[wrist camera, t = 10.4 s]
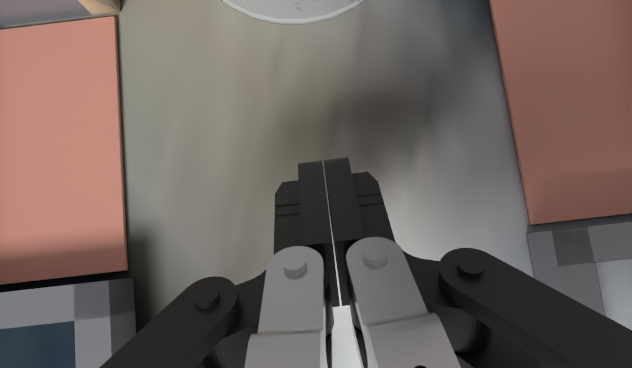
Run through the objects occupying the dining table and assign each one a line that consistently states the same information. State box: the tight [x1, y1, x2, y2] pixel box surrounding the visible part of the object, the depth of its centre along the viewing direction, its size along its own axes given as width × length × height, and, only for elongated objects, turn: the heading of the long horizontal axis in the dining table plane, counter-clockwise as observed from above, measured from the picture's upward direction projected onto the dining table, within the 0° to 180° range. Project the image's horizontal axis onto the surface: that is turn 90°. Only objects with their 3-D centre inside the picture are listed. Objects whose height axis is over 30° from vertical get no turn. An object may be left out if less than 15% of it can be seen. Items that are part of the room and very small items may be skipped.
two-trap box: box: [0, 0, 632, 368], centre depth 18 cm, size 29×29×2 cm
